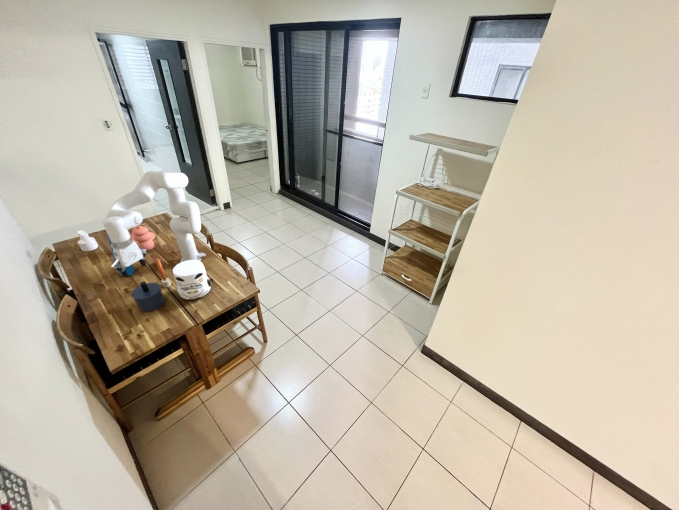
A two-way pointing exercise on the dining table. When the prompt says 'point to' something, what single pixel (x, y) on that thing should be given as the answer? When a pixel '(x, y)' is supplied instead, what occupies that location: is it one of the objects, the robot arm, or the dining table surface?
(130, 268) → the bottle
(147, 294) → the tin lid
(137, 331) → the dining table surface
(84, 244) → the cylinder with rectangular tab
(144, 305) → the tin
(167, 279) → the brush
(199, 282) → the milk container
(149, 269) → the dining table surface
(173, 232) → the robot arm
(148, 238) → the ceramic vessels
